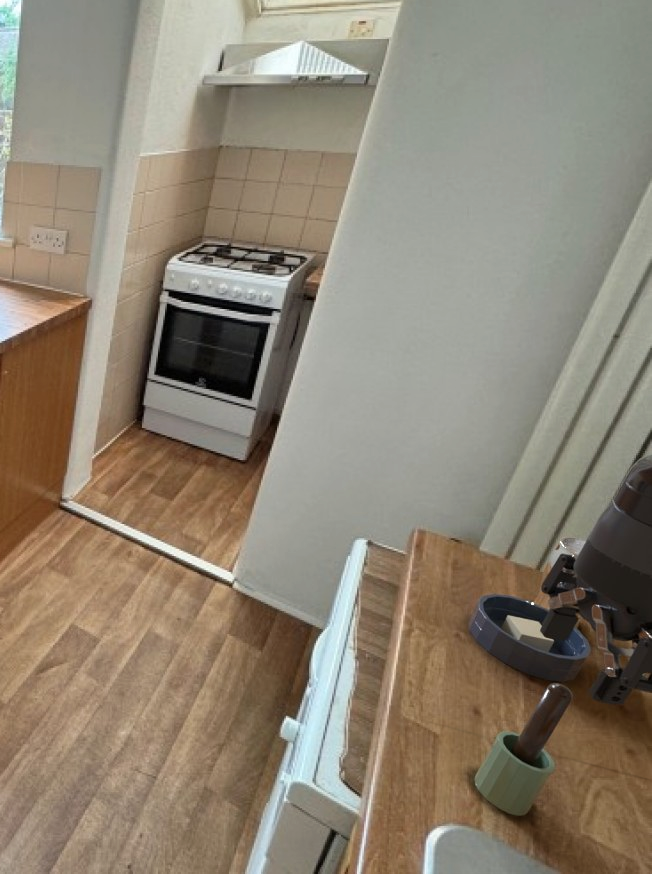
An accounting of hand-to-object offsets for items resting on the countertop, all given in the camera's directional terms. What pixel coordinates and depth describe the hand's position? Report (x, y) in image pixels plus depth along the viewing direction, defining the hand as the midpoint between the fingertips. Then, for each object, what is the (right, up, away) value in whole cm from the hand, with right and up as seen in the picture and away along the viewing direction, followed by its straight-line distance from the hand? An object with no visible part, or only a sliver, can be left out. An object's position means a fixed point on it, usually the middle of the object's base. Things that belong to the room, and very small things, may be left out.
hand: (575, 666), depth 67 cm
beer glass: (+35, -11, +35) cm, 50 cm away
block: (+24, -12, +29) cm, 39 cm away
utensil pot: (0, -21, +8) cm, 23 cm away
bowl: (+24, -13, +29) cm, 40 cm away
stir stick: (0, -21, +8) cm, 22 cm away
